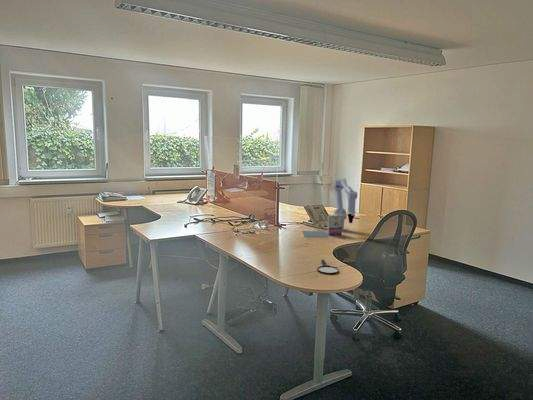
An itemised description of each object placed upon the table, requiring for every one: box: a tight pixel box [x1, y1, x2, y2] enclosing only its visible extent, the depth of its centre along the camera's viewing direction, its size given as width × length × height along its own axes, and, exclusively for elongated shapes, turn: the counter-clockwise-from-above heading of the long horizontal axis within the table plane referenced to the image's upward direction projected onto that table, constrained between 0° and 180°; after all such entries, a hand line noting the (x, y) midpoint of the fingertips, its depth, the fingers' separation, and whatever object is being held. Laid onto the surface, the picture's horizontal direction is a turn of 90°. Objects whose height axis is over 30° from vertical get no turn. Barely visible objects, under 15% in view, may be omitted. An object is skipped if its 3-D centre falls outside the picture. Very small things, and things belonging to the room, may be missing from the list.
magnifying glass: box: [316, 258, 340, 276], centre depth 247 cm, size 12×24×2 cm, turn 2°
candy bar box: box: [326, 214, 342, 237], centre depth 332 cm, size 11×5×16 cm, turn 105°
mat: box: [302, 230, 329, 239], centre depth 334 cm, size 20×19×1 cm
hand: (350, 222), depth 332 cm, fingers closed
